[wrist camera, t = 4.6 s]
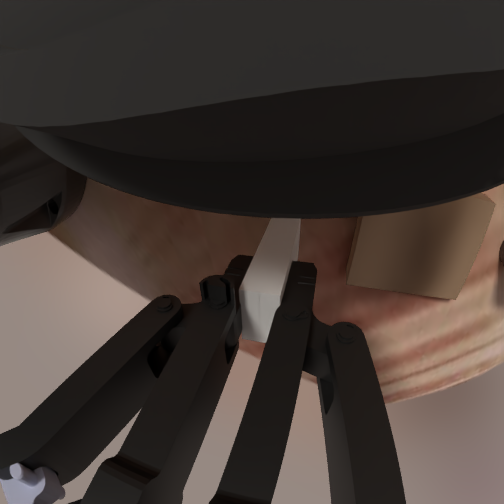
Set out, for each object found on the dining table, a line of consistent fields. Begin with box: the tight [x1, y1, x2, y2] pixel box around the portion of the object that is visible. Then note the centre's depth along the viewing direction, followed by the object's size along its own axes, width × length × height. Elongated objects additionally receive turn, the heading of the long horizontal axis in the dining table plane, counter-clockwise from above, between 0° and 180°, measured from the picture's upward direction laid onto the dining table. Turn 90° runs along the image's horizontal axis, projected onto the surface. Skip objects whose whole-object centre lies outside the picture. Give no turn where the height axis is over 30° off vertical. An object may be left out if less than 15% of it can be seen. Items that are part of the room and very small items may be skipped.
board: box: [346, 193, 496, 300], centre depth 15 cm, size 8×7×2 cm
